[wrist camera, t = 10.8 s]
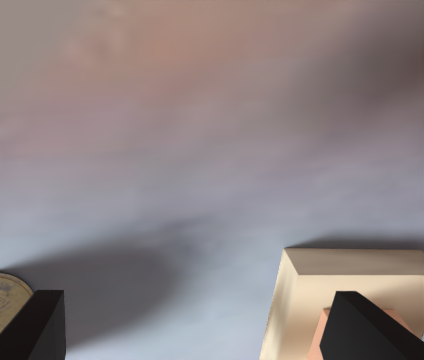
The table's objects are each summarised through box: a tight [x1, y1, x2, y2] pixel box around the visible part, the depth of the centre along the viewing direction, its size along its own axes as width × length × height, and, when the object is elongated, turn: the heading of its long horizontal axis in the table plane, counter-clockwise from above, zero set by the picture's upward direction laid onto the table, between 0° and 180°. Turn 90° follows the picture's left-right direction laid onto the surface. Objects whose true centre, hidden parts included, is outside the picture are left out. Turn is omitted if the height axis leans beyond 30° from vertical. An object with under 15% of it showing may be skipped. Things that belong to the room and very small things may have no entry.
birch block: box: [259, 248, 424, 360], centre depth 24 cm, size 9×9×3 cm
